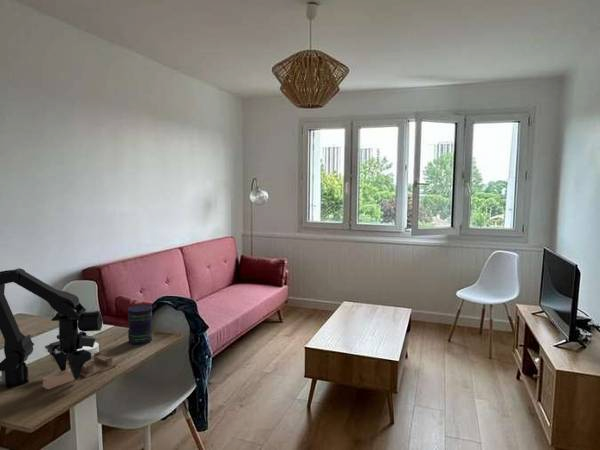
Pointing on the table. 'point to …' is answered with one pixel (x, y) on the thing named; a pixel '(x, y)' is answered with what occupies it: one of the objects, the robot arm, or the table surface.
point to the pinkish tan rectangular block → (57, 379)
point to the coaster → (91, 349)
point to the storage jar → (140, 325)
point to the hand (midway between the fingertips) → (69, 375)
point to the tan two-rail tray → (97, 365)
